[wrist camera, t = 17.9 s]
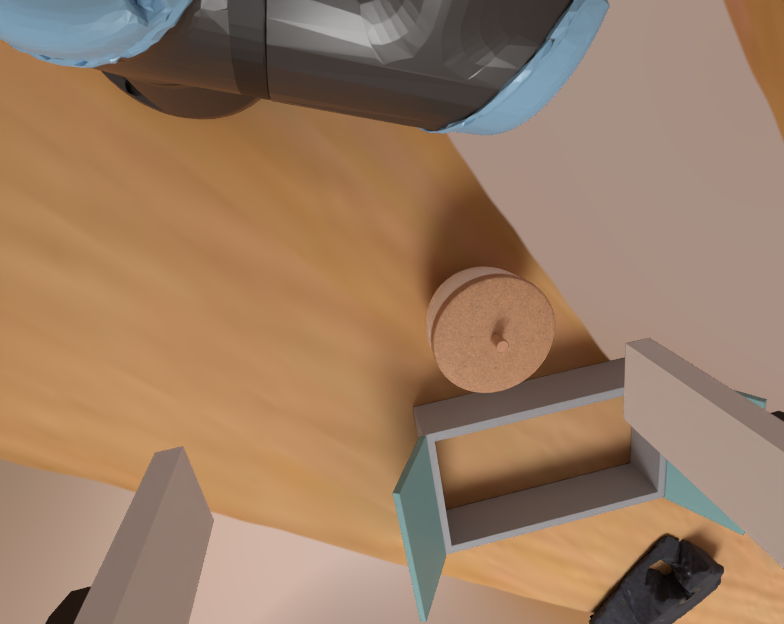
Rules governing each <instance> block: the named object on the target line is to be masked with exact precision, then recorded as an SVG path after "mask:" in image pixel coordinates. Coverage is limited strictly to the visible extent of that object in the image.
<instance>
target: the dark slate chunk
mask: <svg viewBox="0 0 784 624" xmlns="http://www.w3.org/2000/svg"><path fill="white" fill-rule="evenodd" d="M679 544H680V545H679ZM655 545H656V547H655V548H654V549H653V550H652V551H651V552H650V553H648V554H647V555H646V556H644V557H643V558H642V559H641V560H640V561H639V562H638V563H637V564H636V565H635V567H634V568H633V569H632V570H631V571H630V572H629V573H628V575H627V576H625V577H624V579H623V581H622V583H621V585H620V586H619V588H618V589H617V590H615V591H614V592H613V593H612V594H611V596H610V598H607V599H606V600H605V602H604V604H603V605H602V606H601V607H600V609H599V610H597V611H596V612H595V613H594V614H593V615H591V616H590V618H591V620H590V621H589V622H590V623H589V624H672V623H674V622H675V621H676V620H677V619H679V618H681V617H682V616H683V615H685V614H686V613H687V612H688V611H689V610H691V609H692V608H693V607H694V606H696V605H697V604H699V603H700V602H701V601H702V600H703V599H705V598H706V597H707V596H708V595H709V594H710V593H711V592H713V591H714V590H716V589H717V587H718V585H720V583H721V576H722V574H723V573H724V567H723V566H722V565H720V564H718V563H716V562H715V561H714V560H713V559H712V558H711V557H710V556H709V555H708V554H707V553H706V552H705V551H703V550H702V549H701V548H699V547H697V546H695V545H694V544H692V543H690V542H688V541H686V542H685V541H684V540H682V541H681V542H679V539H677V538H675V539H674V538H671V537H670V536H667V537H662V538H661V539H660V540H659V541H658V542H656V544H655ZM659 560H662V561H664V562H665V563H667V564H670V565H671V566H672V568H673V570H674V571H672V572H670V573H669V574H667V575H663V574H661V573H660V571H657V570H654V569H649V566H650V565H652V564H654V563H656V562H657V561H659Z"/></svg>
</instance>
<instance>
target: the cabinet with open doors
mask: <svg viewBox="0 0 784 624" xmlns="http://www.w3.org/2000/svg"><path fill="white" fill-rule="evenodd" d="M624 384H625V358H620V359H616V360H612V361H607V362H603V363H599V364H595V365H590V366H586V367H582V368H578V369H573V370H569V371H565V372H561V373H556V374H552V375H548V376H544V377H539V378H535V379H531V380H527V381H522V382H521V383H519V384H517V385H515V386H513V387H511V388H508V389H505V390H503V391H498V392H492V393H479V392H476V393H471V394H467V395H463V396H459V397H455V398H450V399H446V400H442V401H438V402H433V403H429V404H425V405H421V406H416V407H413V411H414V416H415V422H416V428H417V433H418V441H417V443H416V445H415V447H414V449H413V451H412V453H411V455H410V458H409V460H408V462H407V464H406V466H405V468H404V470H403V472H402V474H401V476H400V479H399V481H398V483H397V485H396V487H395V489H394V491H393V497H394V501H395V506H396V511H397V515H398V520H399V525H400V529H401V534H402V539H403V543H404V548H405V553H406V557H407V562H408V567H409V571H410V576H411V580H412V585H413V590H414V595H415V599H416V604H417V609H418V613H419V617H420V621H422V622H426V621H427V618H428V615H429V611H430V608H431V605H432V601H433V598H434V594H435V591H436V588H437V585H438V582H439V578H440V575H441V572H442V568H443V565H444V562H445V558H446V554H450V553H454V552H458V551H461V550H465V549H469V548H473V547H477V546H480V545H484V544H488V543H492V542H496V541H499V540H503V539H507V538H511V537H515V536H518V535H522V534H526V533H530V532H533V531H537V530H541V529H545V528H549V527H552V526H556V525H560V524H564V523H568V522H571V521H575V520H579V519H583V518H587V517H590V516H594V515H598V514H602V513H606V512H609V511H613V510H617V509H621V508H624V507H628V506H632V505H636V504H640V503H643V502H647V501H651V500H655V499H659V498H662V497H665V498H666V499H668V500H670V501H672V502H674V503H676V504H678V505H680V506H682V507H685V508H687V509H689V510H691V511H693V512H695V513H697V514H699V515H701V516H704V517H706V518H708V519H710V520H712V521H714V522H716V523H718V524H720V525H723V526H725V527H727V528H729V529H731V530H733V531H735V532H737V533H739V534H742V535H744V533H745V532H744V531H743V530H742V529H741V528H740V527H739V526H738V525H737V524H736V523H734V522H733V521H732V520H731V519H730V518H729V517H728V516H727V515H726V514H725V513H724V512H723V511H722V510H721V509H719V508H718V507H717V506H716V505H715V504H714V503H713V502H712V501H711V500H710V499H709V498H708V497H707V496H706V495H704V494H703V493H702V492H701V491H700V490H699V489H698V488H697V487H696V486H695V485H694V484H693V483H692V482H691V481H689V480H688V479H687V478H686V477H685V476H684V475H683V474H682V473H681V472H680V471H679V470H678V469H677V468H676V467H675V466H673V465H672V464H671V463H670V462H669V461H668V460H667V459H666V458H665V457H664V456H663V455H662V454H661V453H660V452H658V451H657V450H656V449H655V448H654V447H653V446H652V445H651V444H650V443H649V442H648V441H647V440H646V439H645V438H643V437H642V436H641V435H640V434H639V433H638V432H637V431H636V430H635V429H634V428H633V427H632V429H631V459H630V463H628V464H625V465H621V466H617V467H613V468H609V469H605V470H601V471H597V472H593V473H589V474H585V475H582V476H578V477H574V478H570V479H566V480H562V481H558V482H554V483H550V484H546V485H542V486H538V487H535V488H531V489H527V490H523V491H519V492H515V493H511V494H507V495H503V496H499V497H495V498H492V499H488V500H484V501H480V502H476V503H472V504H468V505H464V506H460V507H456V508H452V509H449V510H446V508H445V502H444V496H443V490H442V484H441V477H440V471H439V465H438V459H437V453H436V447H435V441H439V440H443V439H448V438H452V437H456V436H460V435H464V434H468V433H472V432H476V431H481V430H485V429H489V428H493V427H497V426H501V425H505V424H509V423H514V422H518V421H522V420H526V419H530V418H534V417H538V416H542V415H546V414H551V413H555V412H559V411H563V410H567V409H571V408H575V407H579V406H584V405H588V404H592V403H596V402H600V401H604V400H608V399H612V398H617V397H621V396H624ZM734 391H735V390H734ZM736 392H737V393H739V394H740V395H742V396H744V397H745V398H747V399H748V400H750V401H752V402H753V403H755V404H756V405H758V406H760V407H761V408H763V409H764V410H765V407H766V401H767V399H764V398H760V397H756V396H753V395H750V394H746V393H742V392H739V391H736Z"/></svg>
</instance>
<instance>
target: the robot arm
mask: <svg viewBox="0 0 784 624" xmlns="http://www.w3.org/2000/svg"><path fill="white" fill-rule="evenodd" d="M608 9H609V3H608V1H607V0H0V39H1V40H3V41H6V42H8V43H9V44H10V45H11V46H12V47H13V48H15V49H17V50H19V51H20V52H25V53H29V54H30V55H32V56H33V57H35V58H37V59H39V60H42V61H46V62H50V63H53V64H57V65H61V66H73V67H80V68H94V69H97V70H101V71H102V73H103V74H104V75H105V76H106V77H107V78H108V79H109V80H110V81H111V82H112V83H114V84H115V85H116V86H117V87H118V88H120V89H121V90H122V91H124V92H125V93H126V94H128V95H129V96H131V97H132V98H134V99H135V100H137V101H139V102H140V103H142V104H144V105H146V106H148V107H150V108H152V109H155V110H157V111H160V112H163V113H166V114H169V115H173V116H177V117H183V118H192V119H215V118H222V117H226V116H230V115H233V114H236V113H238V112H241V111H243V110H245V109H247V108H248V107H250V106H252V105H253V104H255V103H256V102H257V101H259V100H260V99H261V98H263V99H268V100H271V101H274V102H280V103H285V104H291V105H296V106H302V107H307V108H313V109H318V110H324V111H329V112H335V113H340V114H346V115H351V116H357V117H362V118H368V119H373V120H379V121H384V122H390V123H395V124H401V125H406V126H412V127H417V128H418V129H420V130H422V131H425V132H429V133H435V132H436V133H440V134H442V133H448V132H460V133H469V134H476V135H494V134H500V133H504V132H507V131H509V130H512V129H514V128H516V127H518V126H519V125H521V124H523V123H524V122H526V121H527V120H529V119H530V118H532V117H533V116H534V115H535V114H537V113H538V112H539V111H540V110H541V109H542V108H543V107H544V106H545V105H547V103H548V102H549V101H550V100H551V99H552V98H553V97H554V96H555V95H556V94H557V93H558V91H559V90H560V89H561V88H562V87H563V85H564V84H565V83H566V82H567V80H568V79H569V78H570V76H571V75H572V73H573V72H574V71H575V69H576V68H577V66H578V65H579V63H580V61H581V60H582V58H583V57H584V55H585V53H586V52H587V50H588V49H589V47H590V45H591V43H592V41H593V40H594V38H595V36H596V34H597V32H598V30H599V28H600V26H601V24H602V22H603V20H604V17H605V15H606V13H607V11H608ZM624 420H625V421H626V422H627V423H628V424H630V425H631V426H632V427H633V428H634V429H635V430H636V431H637V432H638V433H639V434H640V435H641V436H642V437H643V438H645V439H646V440H647V441H648V442H649V443H650V444H651V445H652V446H653V447H654V448H655V449H656V450H657V451H658V452H660V453H661V454H662V455H663V456H664V457H665V458H666V459H667V460H668V461H669V462H670V463H671V464H672V465H673V466H675V467H676V468H677V469H678V470H679V471H680V472H681V473H682V474H683V475H684V476H685V477H686V478H687V479H688V480H689V481H691V482H692V483H693V484H694V485H695V486H696V487H697V488H698V489H699V490H700V491H701V492H702V493H703V494H704V495H706V496H707V497H708V498H709V499H710V500H711V501H712V502H713V503H714V504H715V505H716V506H717V507H718V508H719V509H721V510H722V511H723V512H724V513H725V514H726V515H727V516H728V517H729V518H730V519H731V520H732V521H733V522H734V523H736V524H737V525H738V526H739V527H740V528H741V529H742V530H743V531H744V532H745V533H746V534H747V535H748V536H749V537H750V538H752V539H753V540H754V541H755V542H756V543H757V544H758V545H759V546H760V547H761V548H762V549H763V550H764V551H765V552H767V553H768V554H769V555H770V556H771V557H772V558H773V559H774V560H775V561H776V562H777V563H778V564H779V565H780V566H782V567H783V568H784V412H781V411H776V412H772V413H769V412H768V411H766V410H764V409H763V408H761V407H760V406H758V405H756V404H755V403H753V402H752V401H750V400H748V399H747V398H745V397H744V396H742V395H740V394H739V393H737V392H736V391H734V390H732V389H731V388H729V387H728V386H726V385H724V384H723V383H721V382H719V381H718V380H716V379H715V378H713V377H711V376H710V375H708V374H707V373H705V372H703V371H702V370H700V369H699V368H697V367H695V366H694V365H692V364H691V363H689V362H687V361H686V360H684V359H683V358H681V357H679V356H678V355H676V354H675V353H673V352H671V351H670V350H668V349H667V348H665V347H663V346H662V345H660V344H659V343H657V342H655V341H654V340H652V339H651V338H646V339H642V340H638V341H633V342H629V343H626V347H625V384H624ZM213 521H214V520H213V517H212V514H211V512H210V510H209V507H208V505H207V502H206V500H205V498H204V495H203V493H202V490H201V488H200V485H199V483H198V481H197V478H196V476H195V473H194V471H193V469H192V466H191V464H190V461H189V459H188V457H187V454H186V452H185V449H184V447H183V446H182V447H178V448H173V449H169V450H165V451H161V452H156V453H155V454H154V456H153V458H152V460H151V462H150V465H149V467H148V469H147V471H146V473H145V475H144V477H143V479H142V481H141V483H140V486H139V488H138V490H137V492H136V494H135V496H134V498H133V500H132V502H131V505H130V507H129V509H128V511H127V513H126V515H125V517H124V519H123V521H122V523H121V525H120V528H119V530H118V532H117V534H116V536H115V538H114V540H113V542H112V544H111V546H110V549H109V551H108V553H107V555H106V557H105V559H104V561H103V564H102V565H101V567H100V569H99V572H98V574H97V576H96V578H95V580H94V582H93V584H92V586H91V587H87V588H83V589H79V590H75V591H71V592H70V593H69V594H68V596H67V597H66V598H65V599H64V600H63V601H62V603H61V604H60V605H59V606H58V607H57V608H56V609H55V611H54V612H53V613H52V614H51V615H50V616H49V618H48V620H47V622H46V624H188V623H189V619H190V615H191V611H192V607H193V603H194V599H195V595H196V591H197V587H198V583H199V579H200V575H201V571H202V566H203V562H204V558H205V554H206V550H207V546H208V542H209V537H210V534H211V530H212V526H213Z"/></svg>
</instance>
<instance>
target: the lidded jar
mask: <svg viewBox="0 0 784 624" xmlns="http://www.w3.org/2000/svg"><path fill="white" fill-rule="evenodd" d="M426 332H427V337H428V341H429V345H430V348H431V350H432V352H433V356H434V359H435V361H436V363H437V365H438V367H439V369H440V370H441V372H442V373H443V374H444V376H445V377H446V378H447V379H448V380H449V381H451V382H452V383H453V384H455V385H457V386H458V387H460V388H463V389H465V390H468V391H472V392H479V393H492V392H498V391H503V390H505V389H508V388H511V387H513V386H515V385H517V384H519V383H521V382H522V381H524V380H525V379H527V378H528V377H529V376H531V375H532V374H533V373H534V372H535V371H536V370H537V369H538V368H539V366H540V365H541V364H542V363H543V361H544V360H545V358H546V357H547V355H548V353H549V350H550V348H551V345H552V342H553V339H554V333H555V319H554V313H553V310H552V307H551V304H550V303H549V301H548V299H547V297H546V296H545V295H544V294H543V293H542V291H541V290H540V289H538V288H537V287H536V286H535V285H533V284H532V283H530V282H529V281H527V280H525V279H523V278H521V277H519V276H517V275H515V274H513V273H511V272H509V271H506V270H503V269H500V268H494V267H487V266H481V267H473V268H468V269H465V270H462V271H460V272H458V273H456V274H454V275H452V276H451V277H449V278H448V279H447V280H446V281H445V282H443V283H442V284H441V285H440V287H439V288H438V289H437V290H436V292H435V294H434V295H433V297H432V299H431V301H430V304H429V306H428V310H427V315H426Z"/></svg>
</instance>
